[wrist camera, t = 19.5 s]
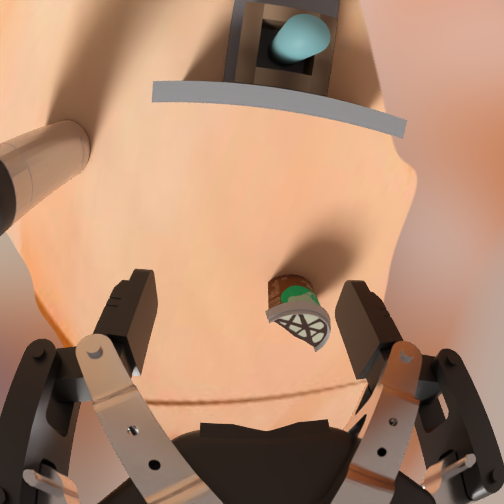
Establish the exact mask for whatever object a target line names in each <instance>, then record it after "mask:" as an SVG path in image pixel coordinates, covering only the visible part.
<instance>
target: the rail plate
mask: <svg viewBox="0 0 504 504" xmlns="http://www.w3.org/2000/svg"><path fill="white" fill-rule="evenodd" d="M339 1H340V0H235V2H234V8H233V15H232V21H231V28H230V35H229V42H228V50H227V57H226V65H225V73H224V82H227V83H235V75H236V67H237V59H238V52H239V44H240V37H241V30H242V23H243V17H244V10H245V4H246V2H256V3H264V4H272V5H279V6H285V7H291V8H296V9H301V10H306V11H310V12H315V13H319V14H323V15H327V16H331V17H334V18H338V10H339ZM278 32H279V31H278V30H271V29H264V28H261V34H260V41H259V48H258V55H257V62H256V67H261V68H268V69H275V70H282V71H288V72H294V73H299V74H303V69H304V62H305V59H303V60H301V61H299V62H297V63H295V64H292V65H290V66H279V65H276V64H275V63H273V62H272V61H271V60H270V59H269V57H268V54H267V49H268V46H269V44H270V43H271V41H272V40H273V39H274V37H275V36H276V35H277V33H278ZM324 97H326V96H324Z"/></svg>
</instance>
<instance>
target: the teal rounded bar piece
mask: <svg viewBox="0 0 504 504" xmlns="http://www.w3.org/2000/svg"><path fill="white" fill-rule="evenodd" d="M329 42H330V31H329V29H328V27H327V25H326V24H325V23H324V22H323V21H322V20H321V19H319V18H318V17H316V16H314V15H310V14H298V15H295V16H293V17H291V18H290V19H289V20H288V21H287V22H286V23H285V24H284V26H283V27H282V28H281V30H280V31H279V32H278V33H277V35H276V36H275V37H274V39H273V40H272V41H271V43H270V44H269V46H268V49H267V54H268V57H269V59H270V60H271V61H272V62H273V63H275V64H276V65H279V66H290V65H292V64H295V63H297V62H299V61H301V60H303V59H306V58H308V57H310V56H313V55H315V54H317V53H320V52H322V51H323V50H324V49H326V47H327V46H328V45H329Z"/></svg>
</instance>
